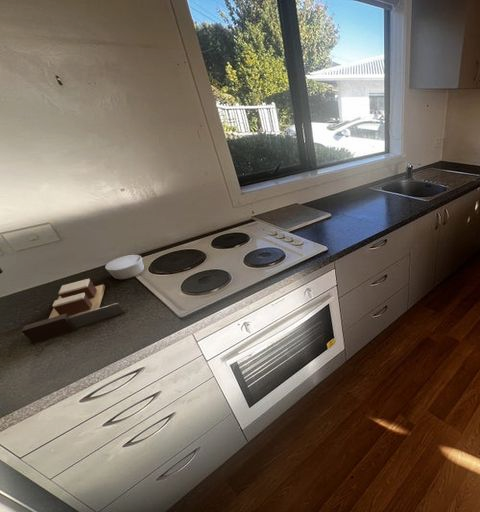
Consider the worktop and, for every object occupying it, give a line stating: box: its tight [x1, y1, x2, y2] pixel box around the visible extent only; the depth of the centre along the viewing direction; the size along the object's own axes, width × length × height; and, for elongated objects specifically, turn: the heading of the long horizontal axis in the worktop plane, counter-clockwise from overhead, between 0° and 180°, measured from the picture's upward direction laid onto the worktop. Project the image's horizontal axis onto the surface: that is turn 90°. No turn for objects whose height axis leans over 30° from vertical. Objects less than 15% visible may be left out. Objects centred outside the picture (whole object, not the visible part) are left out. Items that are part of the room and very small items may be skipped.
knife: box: [21, 302, 125, 344], centre depth 88 cm, size 21×3×5 cm, turn 124°
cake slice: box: [51, 293, 92, 316], centre depth 92 cm, size 7×3×5 cm, turn 124°
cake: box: [58, 278, 97, 299], centre depth 98 cm, size 7×5×5 cm
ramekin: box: [104, 254, 145, 280], centre depth 113 cm, size 11×11×5 cm
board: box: [48, 284, 106, 319], centre depth 97 cm, size 12×18×1 cm, turn 34°
